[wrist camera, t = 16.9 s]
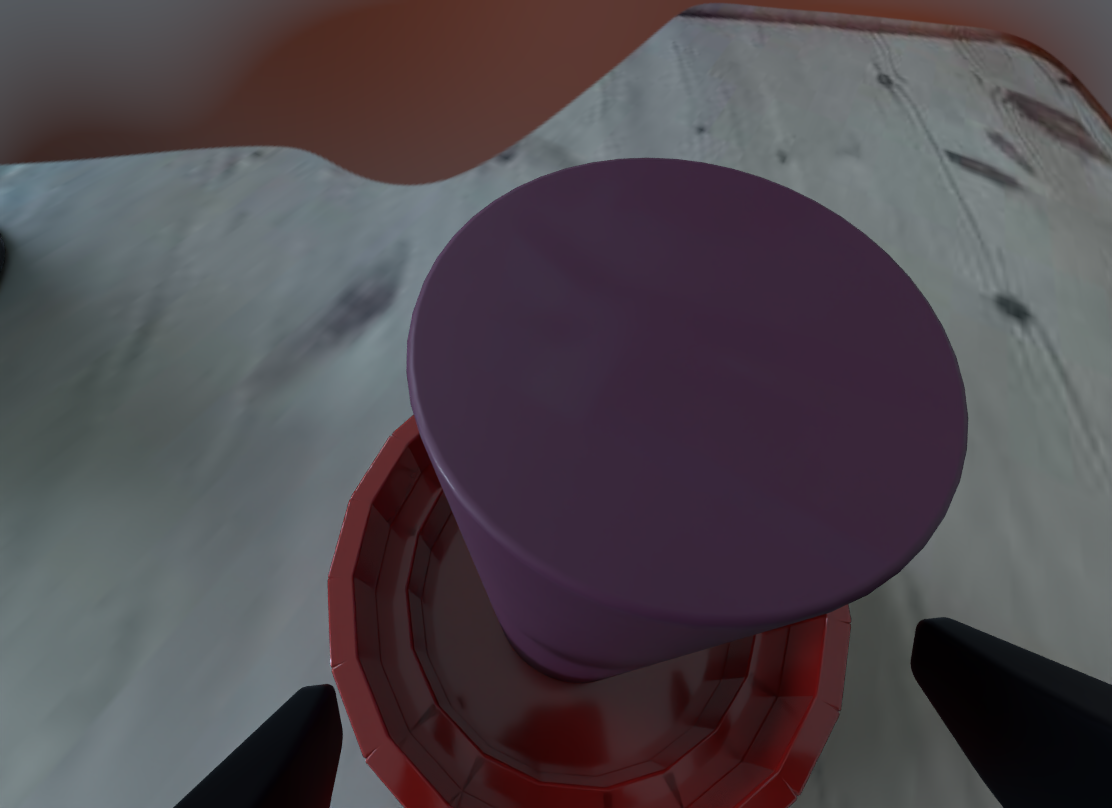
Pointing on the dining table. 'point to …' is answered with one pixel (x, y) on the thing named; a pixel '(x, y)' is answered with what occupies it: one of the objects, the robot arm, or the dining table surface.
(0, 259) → the milk frother
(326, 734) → the robot arm
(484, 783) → the bowl
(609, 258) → the canister
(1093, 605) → the dining table surface
